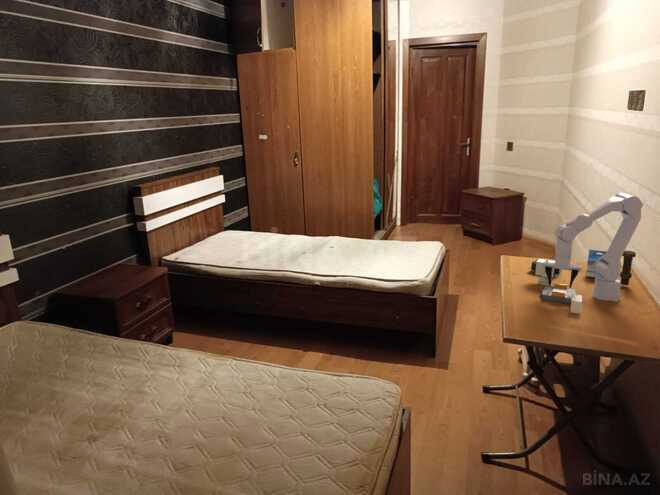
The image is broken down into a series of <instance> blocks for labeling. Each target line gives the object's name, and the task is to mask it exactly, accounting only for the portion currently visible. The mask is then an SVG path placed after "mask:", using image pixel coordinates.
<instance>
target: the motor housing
mask: <svg viewBox="0 0 660 495" xmlns="http://www.w3.org/2000/svg"><path fill="white" fill-rule="evenodd" d="M572 294H573V295H577V289H575V288H569V287H568V284H566V283H565V284H564V283H556V282H554V284H553V285H549V286H546V285H544V288H543V289H542V288H541V292H540V297H541V301H546V302H553V303H560V304H564V305H565V304H566V305H571V298H572Z"/></svg>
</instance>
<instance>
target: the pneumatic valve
mask: <svg viewBox="0 0 660 495" xmlns="http://www.w3.org/2000/svg"><path fill="white" fill-rule="evenodd" d="M543 262H555V260H550V259H548V258H546V259H543V258H537V259H536V260H535V261H532V263H531V266H530V267H531V269H530V270H531V271H532V272H533V275H535V276H540V277H538V280H537V282H538V284H539V285H541V286H545V285H546V286H550V285H549V281H548V277H547V274H546V272H545V268H543ZM561 273H562V269H555V268H552V276H551V284H552V283H553V279H555V278H556V277H557V276H560V275H561ZM552 278H553V279H552Z"/></svg>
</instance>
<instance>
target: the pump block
mask: <svg viewBox="0 0 660 495" xmlns="http://www.w3.org/2000/svg"><path fill="white" fill-rule="evenodd" d="M582 304H583V296H582V295H581V294H576V295H573V294H572V298H571V304H570V313H574V314H579V315H580V314H582V307H583V306H582Z"/></svg>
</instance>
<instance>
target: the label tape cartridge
mask: <svg viewBox="0 0 660 495" xmlns="http://www.w3.org/2000/svg"><path fill="white" fill-rule="evenodd" d="M607 251H608V250H607ZM607 251H605V250H598V249H597V250H596V249H589V250H588V256H587V264H586V271H585V277H587V278H593V279H595V276H596V272H595V271H594V269H593V267H594V264H595V263H596V262H597V261H598V260H599V259H600V257H601V256H603V255H605V254H606V253H607ZM599 253H600V254H599Z"/></svg>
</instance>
